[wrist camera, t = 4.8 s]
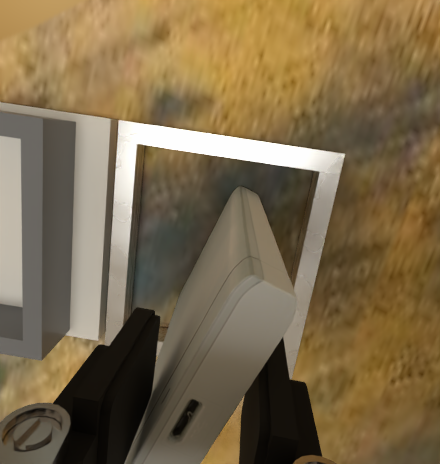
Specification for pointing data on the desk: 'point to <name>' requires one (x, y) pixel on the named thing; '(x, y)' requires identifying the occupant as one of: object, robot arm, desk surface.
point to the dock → (53, 226)
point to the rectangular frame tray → (139, 135)
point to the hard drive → (217, 336)
